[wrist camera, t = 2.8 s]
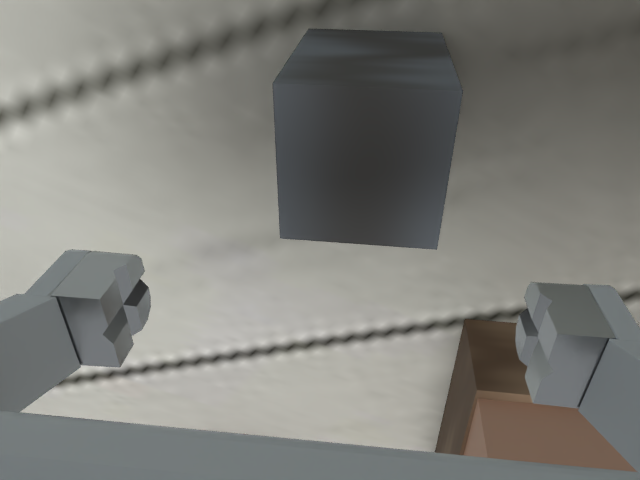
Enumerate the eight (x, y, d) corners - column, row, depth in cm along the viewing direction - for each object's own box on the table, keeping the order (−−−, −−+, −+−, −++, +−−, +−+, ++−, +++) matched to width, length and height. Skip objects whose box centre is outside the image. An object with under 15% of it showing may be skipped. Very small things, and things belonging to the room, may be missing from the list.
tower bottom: (728, 336, 25) (792, 421, 21) (635, 481, 33) (670, 565, 29) (464, 314, 27) (477, 390, 22) (432, 458, 34) (437, 535, 30)
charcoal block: (441, 32, 19) (463, 91, 13) (425, 156, 22) (436, 249, 16) (308, 28, 19) (272, 83, 14) (309, 149, 22) (279, 238, 16)
